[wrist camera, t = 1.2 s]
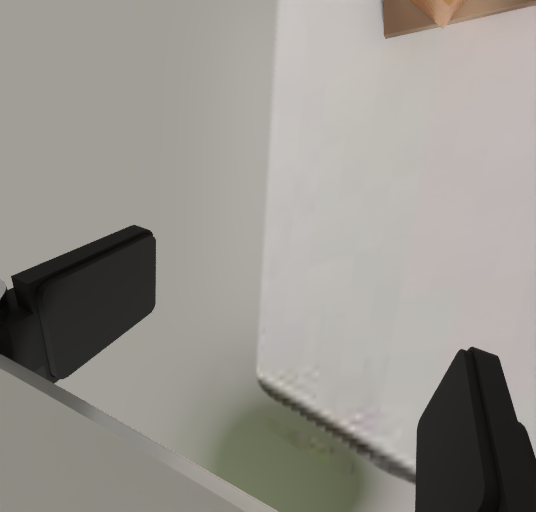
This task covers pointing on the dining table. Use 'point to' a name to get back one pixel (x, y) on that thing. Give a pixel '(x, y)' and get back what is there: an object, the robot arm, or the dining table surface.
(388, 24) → the walnut board
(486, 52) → the dining table surface
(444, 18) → the crank handle
